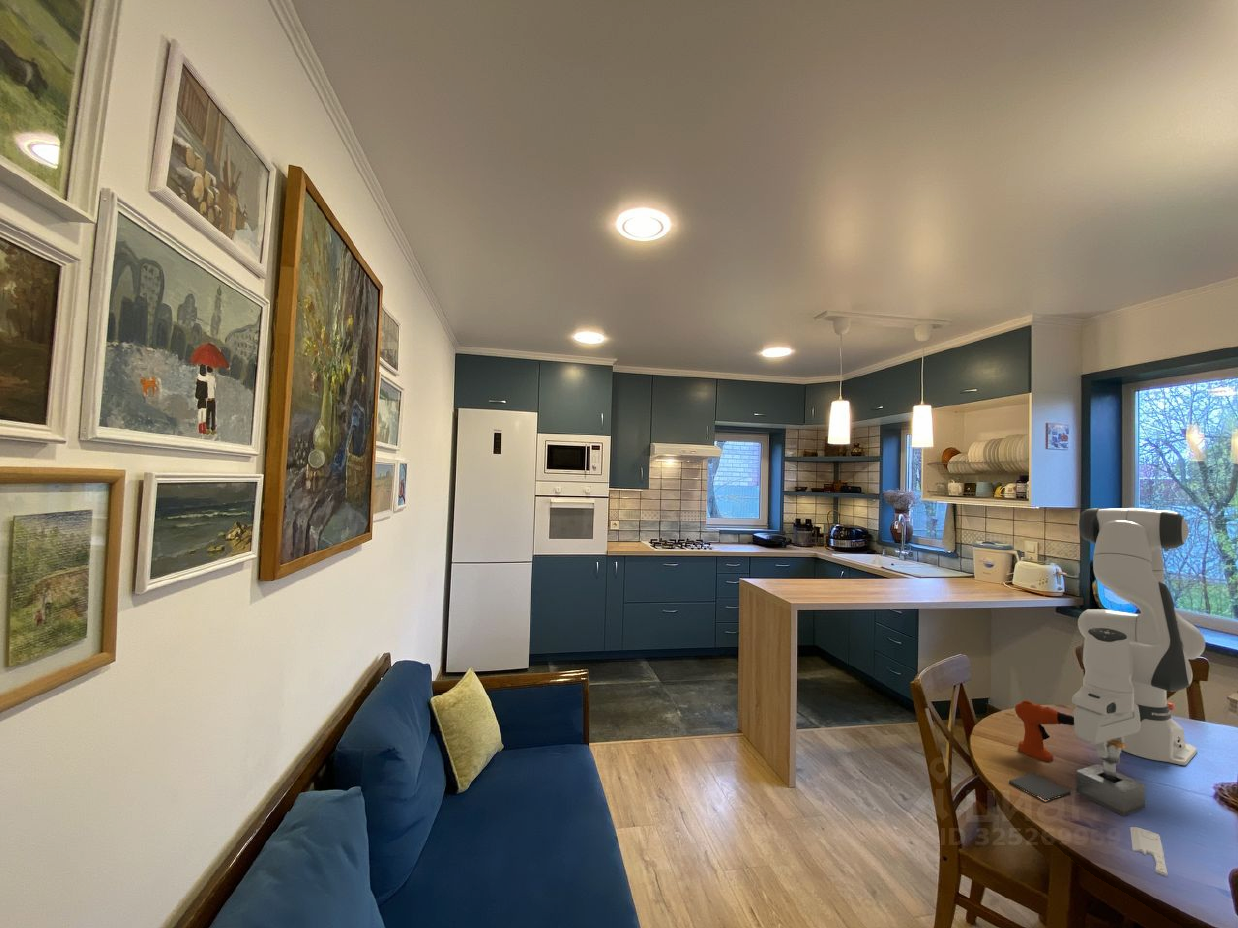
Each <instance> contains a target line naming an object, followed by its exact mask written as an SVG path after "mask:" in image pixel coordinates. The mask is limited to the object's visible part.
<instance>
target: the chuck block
mask: <svg viewBox="0 0 1238 928" xmlns="http://www.w3.org/2000/svg"><path fill="white" fill-rule="evenodd" d="M1075 775H1076V776H1075V779H1076V780H1075V782H1076V785H1075V786H1076V794H1077V795H1079V796H1081V797H1083V798H1085V799H1087V800H1090V801H1091V802H1094V803H1095V804H1098V805H1099V806H1101V807H1104V808H1105V809H1108V810H1110V811H1112V812H1114V813H1116V814H1117V815H1120V816H1122V817H1126V816H1129V815H1131V814H1133V813H1135V812H1139V811H1140V810H1143V809H1146V784H1145V783H1143V782H1140V781H1138V780H1136V779H1133V778H1131V777H1129V776H1126V775H1123V774H1122V773H1120V772H1117V771H1116V783H1113V782H1111V781H1109V780H1107V779H1104V778H1103V765H1102V764H1098V763H1097V764H1093V765H1090V766H1087V767H1084V768H1081V769H1077V770H1076V771H1075Z"/></svg>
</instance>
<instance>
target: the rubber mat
mask: <svg viewBox="0 0 1238 928" xmlns="http://www.w3.org/2000/svg"><path fill="white" fill-rule="evenodd" d="M1008 784H1010V785H1012V786H1014V787H1016V786H1017V787H1016V788H1018V787H1019V788H1021V789H1023V790H1025V791H1027V792H1029V793H1031V794H1033V795H1035V796H1039V797H1041V798H1042V799H1044V800H1048V799H1053V798H1055V797H1058V796H1061V797H1063V796H1066V795H1069V794H1070V795H1071V790H1069V788H1068V789H1067V788H1066V787H1063V786H1062V785H1059V784H1057V783H1056V782H1053V781H1052V780H1049V779H1047V778H1045V777H1043V776H1041V775H1038V774H1037V773H1034V772H1032V773H1029V774H1026V775H1022V776H1020V777H1017V778H1014V779H1009V780H1008ZM1019 788H1018V789H1019ZM1021 789H1020V790H1021ZM1023 790H1022V791H1023ZM1025 791H1024V792H1025ZM1027 792H1026V793H1027ZM1029 793H1028V794H1029ZM1031 794H1030V795H1031ZM1033 795H1032V796H1033ZM1053 800H1054V799H1053Z"/></svg>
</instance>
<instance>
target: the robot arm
mask: <svg viewBox="0 0 1238 928" xmlns="http://www.w3.org/2000/svg"><path fill="white" fill-rule="evenodd" d="M1077 529H1078V533H1079V534H1080V537H1081V538H1082V539H1083V540H1084V541H1086V542H1089V543H1092V544H1094V549H1093V560H1092V567H1093V574H1094V576H1095V578H1096V579H1097V581H1098V582H1099V583H1100V584H1102V585H1103V586H1104V587H1105V588H1107V589H1109V590H1111V591H1112V593H1114V595H1116V596H1117V597H1118V598H1120V599H1122V600H1124V601H1125V602H1128V603H1130V604H1132V605H1134V606H1135V607H1137V608H1138V609H1139V611H1140V613H1133V612H1127V611H1126V612H1125V611H1120V610H1119V611H1118V610H1114V609H1104V608H1103V609H1102V608H1101V609H1099V608H1097V609H1095V608H1094V609H1093V608H1092V609H1090V608H1088V609H1086V610H1084V611H1083V612H1082V613H1081V614H1080V615H1079V617H1078V619H1077V627H1078V629H1079V632H1080V634H1081V635H1082V636H1083V638H1084V641H1083V642H1082V644H1081V662H1082V663H1083V667H1084V672H1085V673H1084V676H1083V680H1082V681H1083V685H1082V686H1081V687H1080V688H1079V690H1078V691H1077V692H1076V693H1074V694H1073V695H1072V697H1071V702H1072V704H1073V705H1075V707H1074V711H1073V717H1074V725H1073V726H1074V734H1075V736H1076V738H1077V739H1079V740H1080V741H1083V742H1086V743H1087V744H1091V745H1094V746H1095V747H1096V755H1097V756H1098V757H1099V756H1100V757H1103V758H1107V757H1109V750H1107V747H1106V745H1107V741H1109V740H1116V741H1119V742H1121V743H1124V744H1125V748H1124V749H1122V748H1120V754H1122V751H1123V752H1125V753H1128V754H1131V755H1134V756H1136V757H1141V758H1144V759H1147V760H1152V761H1159V762H1165V763H1171V764H1176V765H1180V766H1186V765H1188V764H1189V762H1190V761H1191V760H1192V759H1193V757H1194V756H1195V755H1196V754H1197V752H1198V749H1197V747H1195V746H1194V745H1191V744H1190V743H1187V742H1186V741H1185V740H1186V739H1185V730H1184V728H1183V727H1182V726H1180V725H1179V724H1178V723H1177V722H1176V721H1175V720H1173V719H1172V715H1171V713H1172V712H1171V711H1174V710H1175V705H1174V703H1173V702H1168V701H1167V698H1168V697H1167V692H1170V693H1174V692H1175V693H1176V692H1179V691H1182V690H1186V689H1187V688H1189V687H1190V686H1191V684H1192V682H1193V670H1192V666H1191V663H1190V661H1189V660H1196V659H1197V658H1199V657H1200V656H1202V654H1203V653H1204V651H1205V649H1206V640H1205V637H1204V634H1202V632H1201V631H1200V630H1199V629H1198V628H1197V627H1196V626H1195V625H1194V624H1193V623H1190V622H1189V621H1187V620H1186V619H1185V618H1183V617H1182V616H1181V615H1180V614H1179V613H1177V611H1176V608H1175V604H1174V600H1173V597H1172V594H1171V591H1170V590H1169V588H1168V586H1167V585H1166V584H1165V576H1164V575H1165V572H1164V568H1165V567H1164V559H1163V558H1164V557H1163V553H1162V550H1163V551H1164V552H1168V551H1169V550H1173V549H1177V548H1179V547H1181V546H1183V545H1184V544H1185V542H1186V540H1187V539H1188V538H1189V534H1190V527H1189V525H1188V523H1187V521H1186V520H1185V518H1184V516H1183V515H1182V514H1181V513H1180V512H1178V511H1177V512H1176V511H1172V510H1166V509H1165V510H1164V509H1162V510H1157V509H1149V508H1148V509H1147V508H1137V507H1128V508H1123V507H1121V508H1119V507H1118V508H1099V507H1095V508H1088V509H1085V510H1084V511H1082V512H1081V513H1080V515H1079V517H1078V519H1077ZM1100 757H1099V758H1100Z"/></svg>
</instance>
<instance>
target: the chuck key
mask: <svg viewBox="0 0 1238 928" xmlns="http://www.w3.org/2000/svg"><path fill="white" fill-rule="evenodd" d="M1106 747H1107V750H1109V757H1107V758H1103V757H1100V756H1098V757H1099V758H1100V759H1101V760H1102V766H1103V778H1104V779H1107V780H1109V781H1111V782H1113V783H1116V772H1117V771H1116V770H1117V769H1116V768H1117V767H1116V765H1117V764H1120V763H1121V762H1120V760H1121V759H1120V758H1121V757H1120V755H1121V753H1120V748H1122V749H1124V748H1125V744H1124V743H1121V742H1119V741H1116V740H1109V741H1107V745H1106Z"/></svg>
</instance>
